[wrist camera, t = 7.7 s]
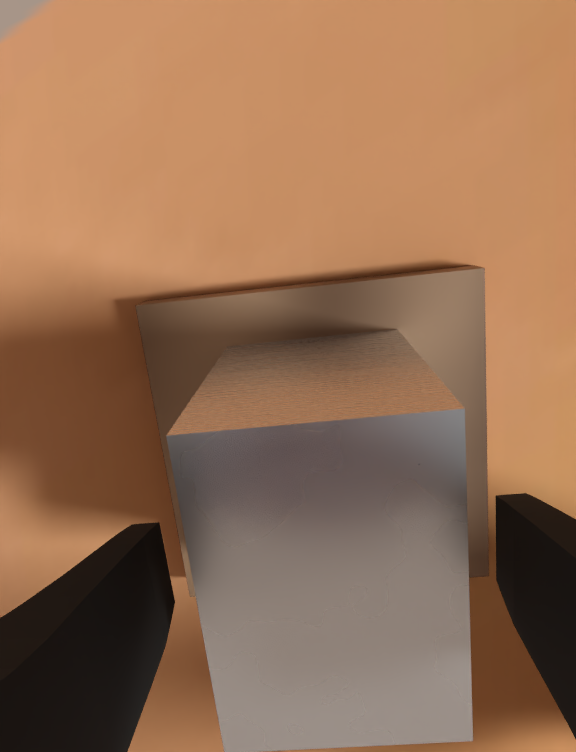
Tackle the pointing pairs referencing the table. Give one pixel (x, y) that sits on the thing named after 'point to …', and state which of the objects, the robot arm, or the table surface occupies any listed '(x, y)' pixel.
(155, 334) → the thin tan panel
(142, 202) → the table surface
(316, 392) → the brushed steel brick
